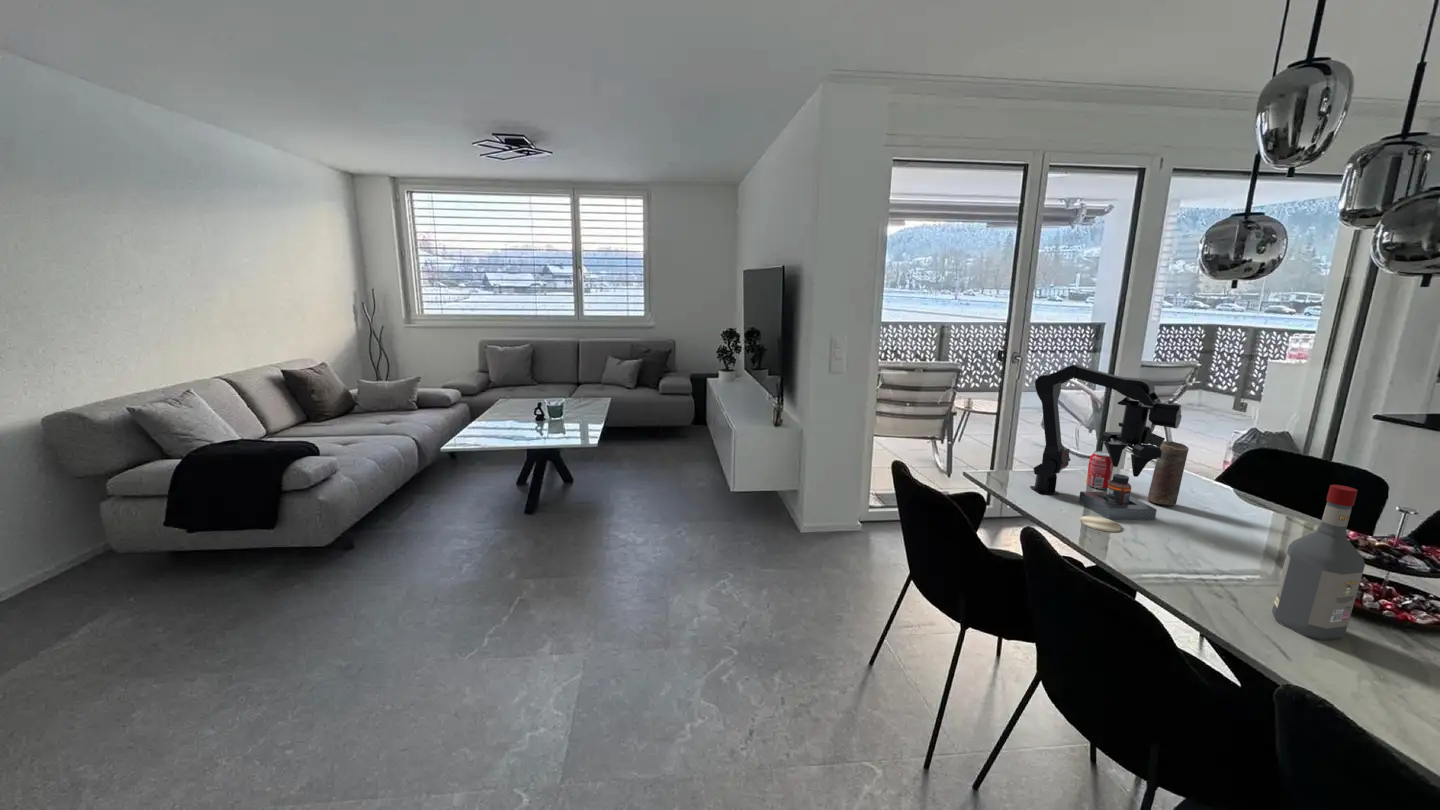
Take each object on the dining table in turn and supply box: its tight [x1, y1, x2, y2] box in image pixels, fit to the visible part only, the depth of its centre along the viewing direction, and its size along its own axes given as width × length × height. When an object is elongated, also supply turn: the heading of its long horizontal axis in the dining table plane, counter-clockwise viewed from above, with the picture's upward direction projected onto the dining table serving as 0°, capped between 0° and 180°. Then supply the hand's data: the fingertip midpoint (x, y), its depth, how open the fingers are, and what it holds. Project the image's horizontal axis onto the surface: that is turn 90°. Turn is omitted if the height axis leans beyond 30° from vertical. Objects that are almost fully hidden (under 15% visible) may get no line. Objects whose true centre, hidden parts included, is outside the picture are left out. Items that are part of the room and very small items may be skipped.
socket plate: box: [1078, 491, 1157, 521], centre depth 176 cm, size 14×14×4 cm
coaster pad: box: [1079, 515, 1123, 533], centre depth 165 cm, size 10×10×1 cm
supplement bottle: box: [1105, 473, 1132, 505], centre depth 175 cm, size 6×6×11 cm
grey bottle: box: [1271, 484, 1366, 641], centre depth 114 cm, size 9×9×30 cm
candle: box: [1146, 440, 1190, 507], centre depth 181 cm, size 8×7×20 cm
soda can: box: [1085, 450, 1114, 490], centre depth 197 cm, size 7×7×12 cm
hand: (1125, 471), depth 173 cm, fingers open, 9 cm apart
